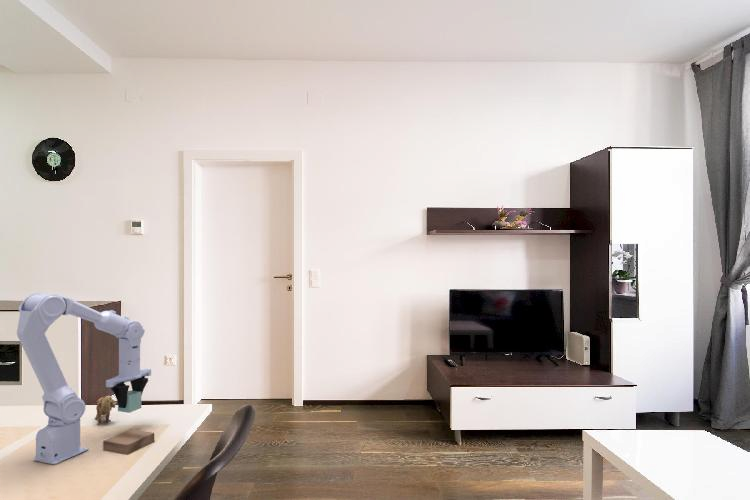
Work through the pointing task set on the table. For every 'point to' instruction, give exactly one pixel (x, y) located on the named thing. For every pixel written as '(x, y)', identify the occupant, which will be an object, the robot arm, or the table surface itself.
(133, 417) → the table surface
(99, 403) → the lion figurine
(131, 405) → the teal brick
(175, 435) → the table surface
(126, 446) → the walnut base block
